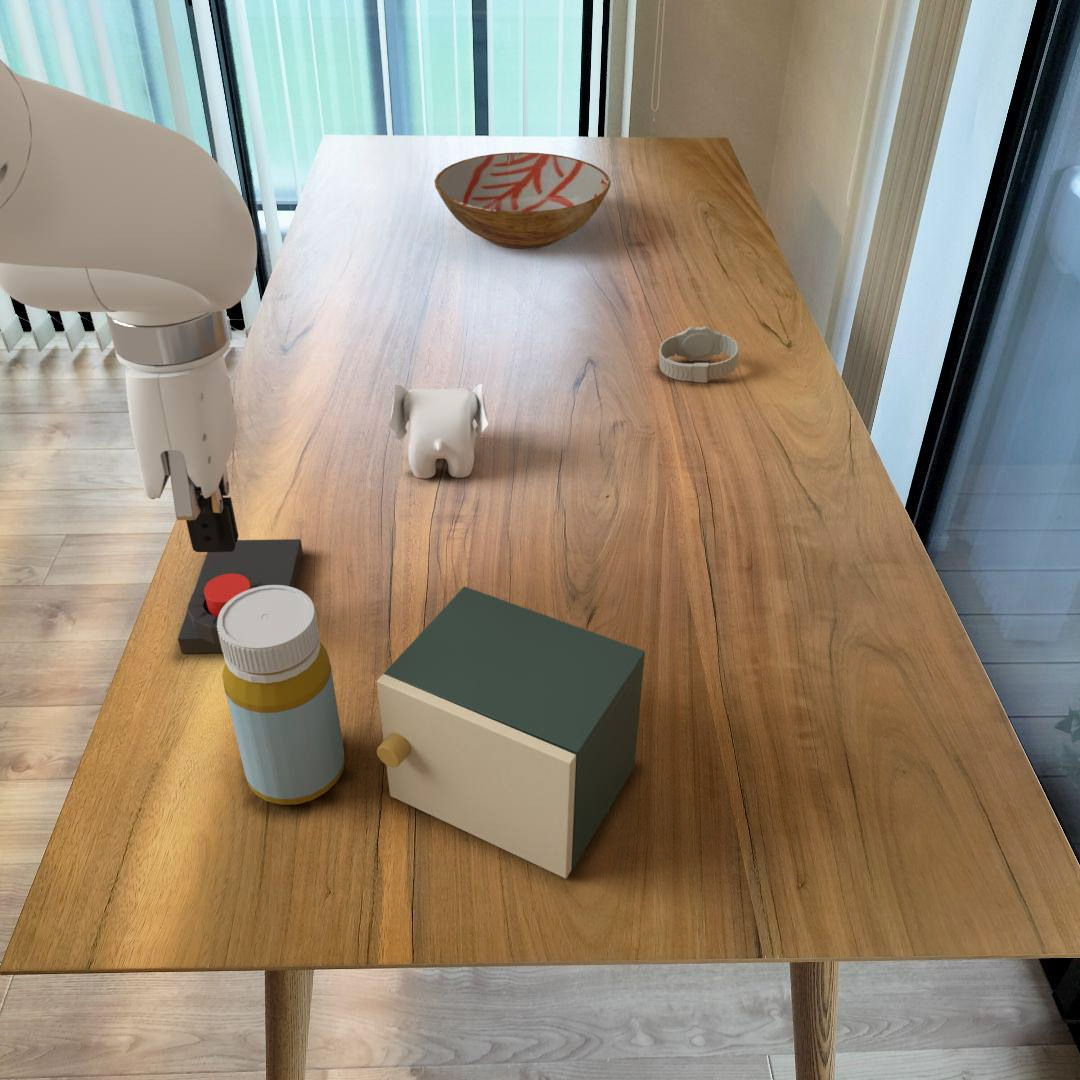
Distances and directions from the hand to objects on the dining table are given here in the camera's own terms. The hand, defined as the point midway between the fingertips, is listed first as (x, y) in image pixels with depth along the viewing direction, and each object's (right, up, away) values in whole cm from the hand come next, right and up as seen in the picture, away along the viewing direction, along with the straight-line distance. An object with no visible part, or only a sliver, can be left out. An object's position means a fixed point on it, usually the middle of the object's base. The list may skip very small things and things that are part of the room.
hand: (216, 545), depth 84 cm
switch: (0, -5, +9) cm, 10 cm away
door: (+20, -20, -11) cm, 30 cm away
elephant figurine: (+15, +9, +27) cm, 32 cm away
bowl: (+23, +45, +75) cm, 91 cm away
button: (0, -5, +4) cm, 6 cm away
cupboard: (+23, -17, -6) cm, 29 cm away
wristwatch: (+43, +20, +42) cm, 64 cm away
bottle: (+8, -16, -6) cm, 19 cm away
